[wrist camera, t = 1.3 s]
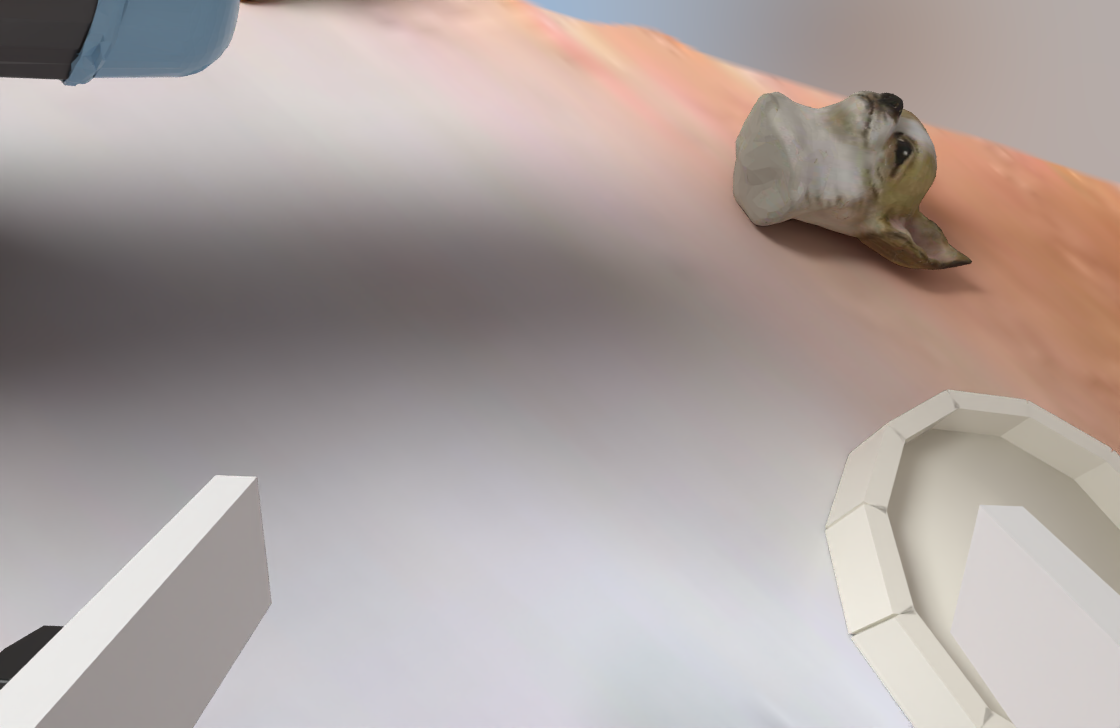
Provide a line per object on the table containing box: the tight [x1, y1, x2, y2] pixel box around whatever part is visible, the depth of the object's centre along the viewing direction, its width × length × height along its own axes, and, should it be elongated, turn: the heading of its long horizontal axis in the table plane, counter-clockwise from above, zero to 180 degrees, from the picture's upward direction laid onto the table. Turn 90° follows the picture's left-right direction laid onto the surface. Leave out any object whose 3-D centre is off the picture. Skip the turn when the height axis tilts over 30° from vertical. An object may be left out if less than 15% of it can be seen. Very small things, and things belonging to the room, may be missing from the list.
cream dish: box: [825, 390, 1120, 728], centre depth 33 cm, size 17×17×3 cm
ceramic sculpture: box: [733, 91, 972, 270], centre depth 42 cm, size 11×9×15 cm
